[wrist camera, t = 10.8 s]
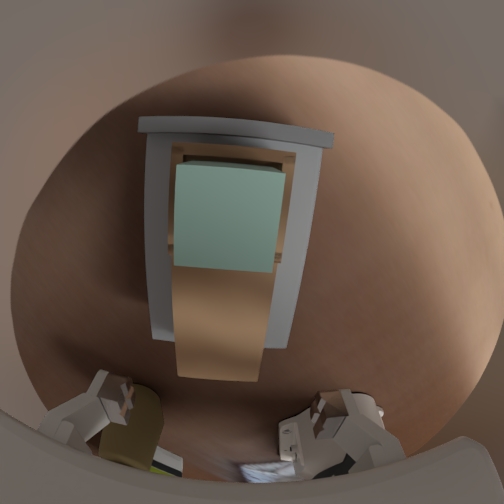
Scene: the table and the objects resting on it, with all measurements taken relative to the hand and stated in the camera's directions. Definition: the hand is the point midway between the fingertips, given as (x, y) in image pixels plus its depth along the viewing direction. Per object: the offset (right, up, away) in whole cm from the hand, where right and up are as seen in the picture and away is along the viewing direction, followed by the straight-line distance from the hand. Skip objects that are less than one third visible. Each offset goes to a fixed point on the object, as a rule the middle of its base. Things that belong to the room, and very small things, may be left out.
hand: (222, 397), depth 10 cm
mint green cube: (0, +9, +4) cm, 10 cm away
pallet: (-1, +6, +9) cm, 11 cm away
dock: (-1, +8, +14) cm, 16 cm away
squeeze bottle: (-15, -14, +22) cm, 30 cm away
